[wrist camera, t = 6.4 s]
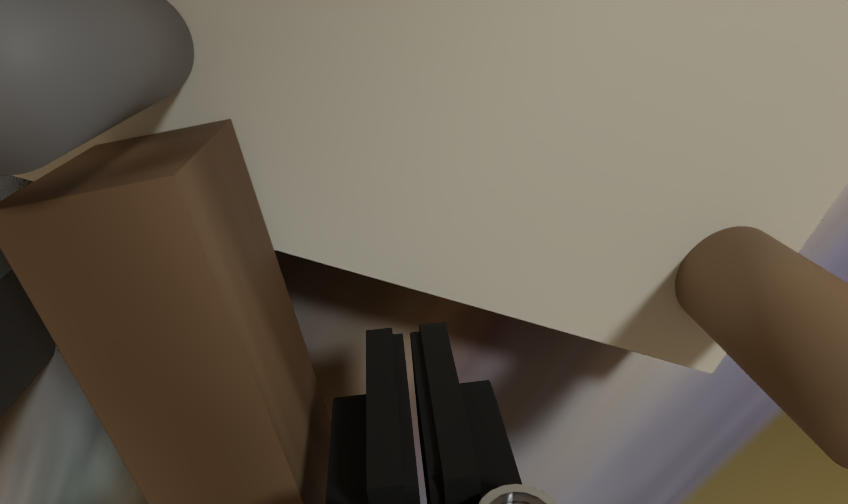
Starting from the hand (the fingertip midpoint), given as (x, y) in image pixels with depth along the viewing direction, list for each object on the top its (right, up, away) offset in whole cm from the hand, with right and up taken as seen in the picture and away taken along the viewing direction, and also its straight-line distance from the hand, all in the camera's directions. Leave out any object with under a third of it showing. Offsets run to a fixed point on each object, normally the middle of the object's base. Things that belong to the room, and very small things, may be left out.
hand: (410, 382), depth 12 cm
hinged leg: (-3, +1, 0) cm, 3 cm away
